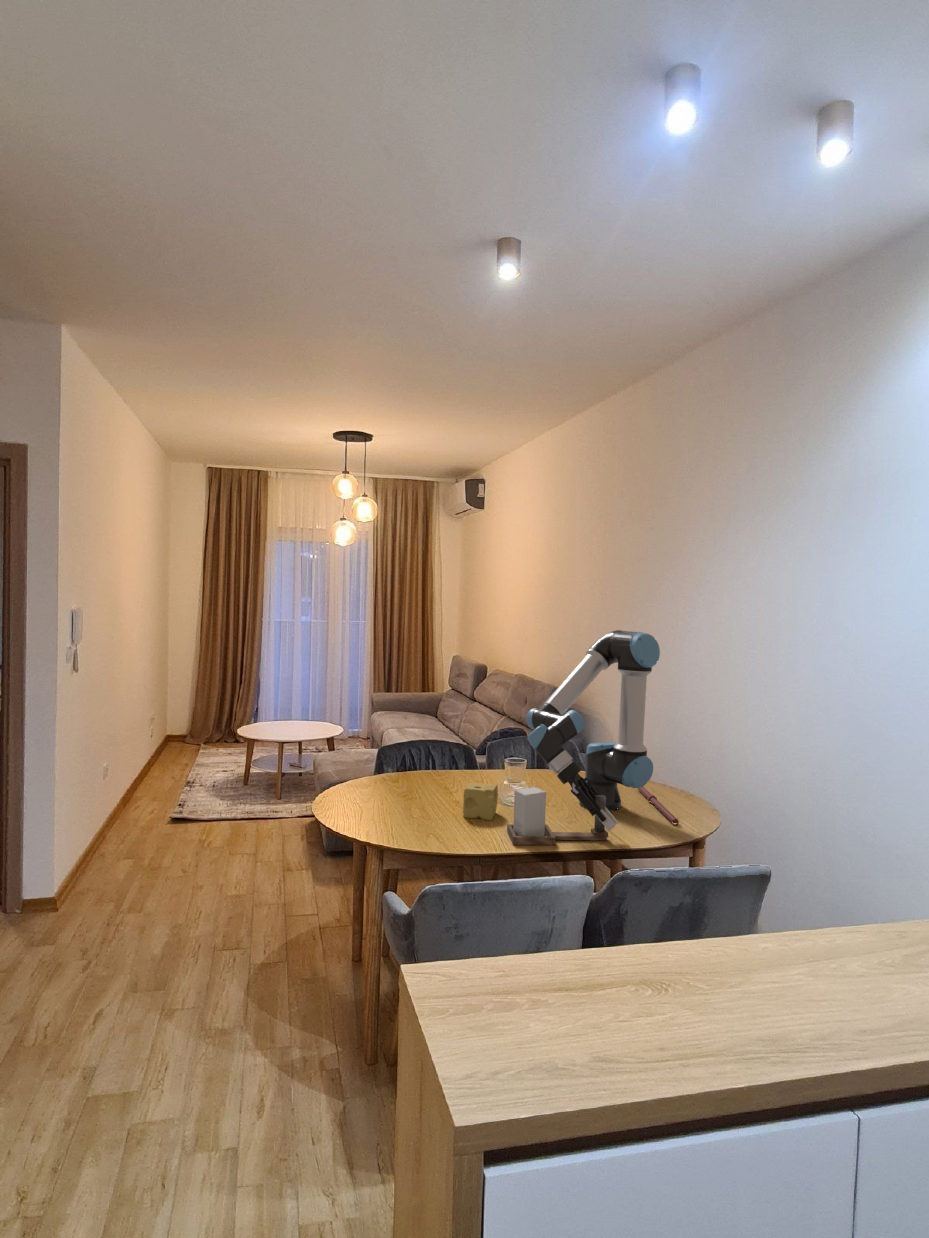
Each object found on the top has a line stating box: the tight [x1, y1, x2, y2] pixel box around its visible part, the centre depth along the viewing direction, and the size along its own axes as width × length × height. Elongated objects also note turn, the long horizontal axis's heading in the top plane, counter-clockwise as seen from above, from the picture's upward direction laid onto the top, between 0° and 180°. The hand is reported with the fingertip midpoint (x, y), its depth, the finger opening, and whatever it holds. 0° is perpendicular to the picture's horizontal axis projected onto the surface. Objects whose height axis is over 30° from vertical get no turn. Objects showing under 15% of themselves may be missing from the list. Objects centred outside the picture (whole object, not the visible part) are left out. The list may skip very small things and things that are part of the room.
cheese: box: [462, 782, 499, 821], centre depth 266 cm, size 10×11×10 cm
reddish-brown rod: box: [636, 786, 679, 824], centre depth 284 cm, size 45×3×3 cm, turn 2°
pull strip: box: [506, 795, 609, 846], centre depth 243 cm, size 31×13×13 cm, turn 95°
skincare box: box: [513, 786, 547, 837], centre depth 242 cm, size 8×7×16 cm
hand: (613, 826), depth 243 cm, fingers closed on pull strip, 3 cm apart
